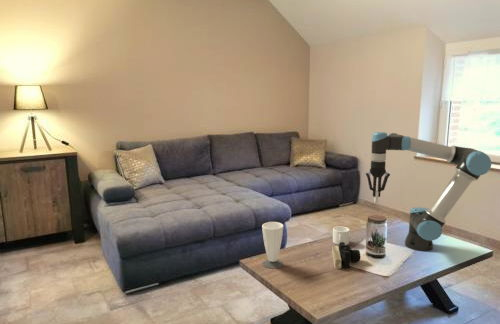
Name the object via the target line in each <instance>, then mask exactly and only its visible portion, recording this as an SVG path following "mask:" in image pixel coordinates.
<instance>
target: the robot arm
mask: <svg viewBox="0 0 500 324" xmlns="http://www.w3.org/2000/svg"><path fill="white" fill-rule="evenodd" d="M387 151H409V152H412V153H417V154H420V155H425V156H430V157H432V158H433V157H434V158H437V159H441V160H446V162H447V163H451V164H453V165H456V166H455V173H454V175H453V176H452V178H451V179H450V181H449V182H448V183H447V185H445V187H444V189H443V190H442V192H441V193H440V194H439V195H438V197H437V198H436V200H435V201H434V203H433V204H432V206H431V207H419V206H417V207H415V206H414V207H411V208H410V212H409V220H408V221H409V223H408V225H409V226H408V232H407V235H406V237H405V240H404V245H405V247H406V248H409V249H411V250H414V251H420V252H421V251H423V252H424V251H426V252H428V251H431V250H433V248H434V243H433V241H436V240H437V239H439V238H440V237H441V236H442V234H443V227H444V225H445V224H446V218H447V216H448V215H449V213H450V212H451V211H452V209H453V208H454V207H455V205H456V204H457V203H458V201H459V200H460V198H461V197H462V196H463V194H464V193H465V192H466V190H467V189H468V188H469V186H470V185H471V184H472V182H474V181H478V180H479V178H480V177H481V176H483V175H486V174H487V173H488V172H489V171H490V170H491V168H492V160H491V158H490V156H489V155H488V154H487V153H485V152H484V151H481V150H478V149H475V148H471V147H465V146H464V147H462V146H456V145H451V146H448V145H444V144H440V143H436V142H433V141H432V142H431V141H428V140H423V139H419V138H415V137H410V136H406V135H401V134H398V133H394V132H392V133H389V134H388V132H385V131H376V132H373V133H372V138H371V157H370V169H369V171H368V172H365V175H366V178H367V182H368V186H369V190H370V191H372V197H374V200H373V202H374V203H375V204H379V198H380V197H381V192H382V191H384V190H385V188H386V185H387V182H388V178H389V177H391V174H390V173H389V172H388V171H387V170H386V160H387V159H386V158H387ZM371 176H372V177H373V178H372V179H373V180H371ZM383 176H384V178H383V181H382V177H383Z"/></svg>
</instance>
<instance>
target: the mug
mask: <svg viewBox="0 0 500 324" xmlns="http://www.w3.org/2000/svg"><path fill="white" fill-rule="evenodd" d="M350 231H351V230H350V228H349V227H347V226H341V225H339V226H334V227H333V228H332V242H333V244H335V246H339V244H340V242H344V243H345V245H349V244H350V240H351V232H350Z"/></svg>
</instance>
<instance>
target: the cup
mask: <svg viewBox="0 0 500 324" xmlns="http://www.w3.org/2000/svg"><path fill="white" fill-rule="evenodd" d="M261 229H262V236H263V237H262V238H263V243H264V245H263V246H264V249H265V253H266V257H267V259H265V260H266V261H264V260H263V261H264V262H263V261H262V262H263V263H261V264H264V265H262V266H263V267H264V266H265V267H264V268H266V267H267V268H266V269H270V268H273V269H274V268H276V269H279V268H282V267H283V266H284V262H283V260H280V259H278V258H279V255H280V250H281V246H282V240H283V235H284V233H283V232H284V224H283V223H281V222H278V221H268V222H265V223H263V224H262V225H261Z"/></svg>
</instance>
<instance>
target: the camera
mask: <svg viewBox="0 0 500 324" xmlns="http://www.w3.org/2000/svg"><path fill="white" fill-rule="evenodd" d="M338 248H339V252H340V256H341V267H342V268H343V269H350V268H351V263H354V262H357V263H358V262H360V261H361V257H362V256H361V252H360V250H359V249H352V248H351V247H350V245H349V244H347V245H345V243H344V242H340V244H339V245H338Z"/></svg>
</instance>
